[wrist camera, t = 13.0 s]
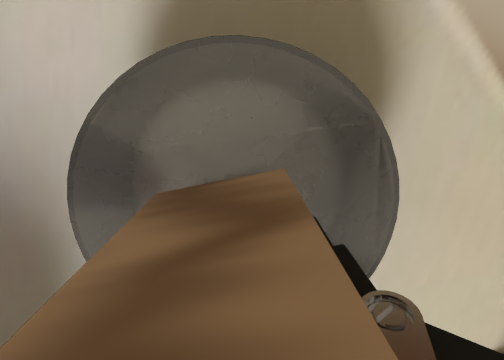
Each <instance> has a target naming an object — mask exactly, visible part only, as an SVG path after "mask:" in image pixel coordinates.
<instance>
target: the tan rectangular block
mask: <svg viewBox="0 0 504 360" xmlns="http://www.w3.org/2000/svg"><path fill="white" fill-rule="evenodd" d="M0 360H398V358H397V357H396V355H395V353H394V352H393V350H392V348H391V347H390V345H389V343H388V342H387V340H386V338H385V337H384V335H383V333H382V332H381V330H380V328H379V327H378V325H377V323H376V322H375V320H374V318H373V317H372V315H371V313H370V311H369V310H368V308H367V306H366V305H365V303H364V301H363V300H362V298H361V296H360V295H359V293H358V291H357V290H356V288H355V286H354V285H353V283H352V281H351V280H350V278H349V276H348V275H347V273H346V271H345V270H344V268H343V266H342V265H341V263H340V261H339V259H338V258H337V256H336V254H335V253H334V251H333V249H332V248H331V246H330V244H329V243H328V241H327V239H326V238H325V236H324V234H323V233H322V231H321V229H320V228H319V226H318V224H317V223H316V221H315V219H314V218H313V216H312V214H311V213H310V211H309V209H308V207H307V206H306V204H305V202H304V201H303V199H302V197H301V196H300V194H299V192H298V191H297V189H296V187H295V186H294V184H293V182H292V181H291V179H290V177H289V176H288V174H287V172H286V171H285V169H284V168H283V169H278V170H273V171H268V172H262V173H257V174H252V175H247V176H242V177H237V178H232V179H227V180H221V181H216V182H211V183H206V184H201V185H196V186H191V187H186V188H180V189H175V190H170V191H165V192H160V193H156V194H155V195H154V196H153V197H152V198H151V199H150V200H149V201H148V202H147V203H146V204H145V205H144V206H143V207H142V208H141V209H140V210H139V211H138V212H137V213H136V214H135V215H134V216H133V217H132V218H131V219H130V220H129V221H128V222H127V223H126V224H125V225H124V226H123V227H122V228H121V229H120V230H119V231H118V232H117V233H116V234H115V235H114V236H113V237H112V238H111V239H110V240H109V241H108V242H107V243H106V244H105V245H104V246H103V247H102V248H101V249H100V250H99V251H98V252H97V253H96V254H95V255H94V256H93V257H92V258H91V259H90V260H89V261H88V262H87V263H86V264H85V265H84V266H83V267H82V268H80V269H79V270H78V271H77V272H76V273H75V274H74V275H73V276H72V277H71V278H70V279H69V280H68V281H67V282H66V283H65V284H64V285H63V286H62V287H61V288H60V289H59V290H58V291H57V292H56V293H55V294H54V295H53V296H52V297H51V298H50V299H49V300H48V301H47V302H46V303H45V304H44V305H43V306H42V307H41V308H40V309H39V310H38V311H37V312H36V313H35V314H34V315H33V316H32V317H31V318H30V319H29V320H28V321H27V322H26V323H25V324H24V325H23V326H22V327H21V328H20V329H19V330H18V331H17V332H16V333H15V334H14V335H13V336H12V337H11V338H10V339H9V340H8V341H7V342H6V343H5V344H4V345H3V346H2V347H1V348H0Z"/></svg>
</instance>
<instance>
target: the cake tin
mask: <svg viewBox="0 0 504 360" xmlns="http://www.w3.org/2000/svg"><path fill="white" fill-rule="evenodd" d="M283 168H284V169H285V171H286V172H287V174H288V176H289V177H290V179H291V181H292V182H293V184H294V186H295V187H296V189H297V191H298V192H299V194H300V196H301V197H302V199H303V201H304V202H305V204H306V206H307V207H308V209H309V211H310V213H311V214H312V216H315V217H316V218H317V220H318V222H319V223H320V225H321V227H322V228H323V230H324V231H325V233H326V235H327V236H328V238H329V240H330V241H331V243H332V245H333V246H334V245H339V244H344V245H345V246H346V247H347V249H348V250H349V252H350V253H351V254H352V256H353V257H354V259H355V260H356V262H357V263H358V264H359V266H360V267H361V269H362V270H363V272H364V273H365V274H366V276H367V277H368V279H369V278H370V277H371V275H372V274H373V273H374V271H375V270H376V268H377V266H378V264H379V263H380V261H381V259H382V258H383V256H384V254H385V251H386V249H387V247H388V244H389V242H390V240H391V237H392V233H393V230H394V226H395V223H396V219H397V211H398V204H399V176H398V169H397V162H396V157H395V154H394V151H393V147H392V144H391V140H390V138H389V136H388V133H387V131H386V129H385V127H384V125H383V123H382V120H381V119H380V117H379V116H378V114H377V112H376V111H375V109H374V108H373V106H372V105H371V103H370V102H369V100H368V99H367V98H366V97H365V96H364V95H363V94H362V92H361V91H360V90H359V89H358V88H357V87H356V86H355V85H354V83H353V82H351V81H350V80H349V79H348V78H347V77H345V76H344V75H343V74H342V73H341V72H339V71H338V70H337V69H336V68H335V67H333V66H331V65H330V64H328V63H326V62H325V61H323V60H321V59H320V58H318V57H317V56H315V55H313V54H311V53H309V52H306V51H304V50H301V49H299V48H297V47H294V46H292V45H290V44H286V43H282V42H278V41H274V40H270V39H266V38H259V37H250V36H241V35H233V36H211V37H206V38H201V39H196V40H190V41H186V42H183V43H180V44H177V45H174V46H171V47H169V48H166V49H163V50H161V51H159V52H157V53H155V54H153V55H151V56H149V57H147V58H146V59H144V60H142V61H140V62H138V63H137V64H136V65H134V66H133V67H132V68H130V69H129V70H128V71H126V72H125V73H124V74H122V75H121V76H120V77H118V78H117V79H116V81H115V82H114V83H113V84H112V85H111V86H110V87H109V88H108V89H107V90H106V91H105V92H104V93H103V94H102V95H101V96H100V98H99V99H98V101H97V102H96V103H95V105H94V106H93V108H92V109H91V110H90V112H89V113H88V115H87V117H86V119H85V121H84V123H83V125H82V127H81V129H80V131H79V133H78V135H77V138H76V141H75V144H74V147H73V150H72V154H71V158H70V164H69V170H68V176H67V200H68V208H69V215H70V220H71V224H72V227H73V231H74V234H75V238H76V240H77V243H78V245H79V247H80V249H81V252H82V254H83V256H84V258H85V260H86V261H87V262H88V261H89V260H90V259H91V258H92V257H93V256H94V255H95V254H96V253H97V252H98V251H99V250H100V249H101V248H102V247H103V246H104V245H105V244H106V243H107V242H108V241H109V240H110V239H111V238H112V237H113V236H114V235H115V234H116V233H117V232H118V231H119V230H120V229H121V228H122V227H123V226H124V225H125V224H126V223H127V222H128V221H129V220H130V219H131V218H132V217H133V216H134V215H135V214H136V213H137V212H138V211H139V210H140V209H141V208H142V207H143V206H144V205H145V204H146V203H147V202H148V201H149V200H150V199H151V198H152V197H153V196H154V195H155V194H156V193H160V192H165V191H170V190H175V189H180V188H186V187H191V186H196V185H201V184H206V183H211V182H216V181H221V180H227V179H232V178H237V177H242V176H247V175H252V174H257V173H262V172H268V171H273V170H278V169H283Z"/></svg>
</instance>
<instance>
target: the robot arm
mask: <svg viewBox="0 0 504 360" xmlns="http://www.w3.org/2000/svg"><path fill="white" fill-rule="evenodd" d="M313 218H314V219H315V221H316V223H317V224H318V226H319V228H320V229H321V231H322V233H323V234H324V236H325V238H326V239H327V241H328V243H329V244H330V246H331V248H332V249H333V251H334V253H335V254H336V256H337V258H338V259H339V261H340V263H341V265H342V266H343V268H344V270H345V271H346V273H347V275H348V276H349V278H350V280H351V281H352V283H353V285H354V286H355V288H356V290H357V291H358V293H359V295H360V296H361V298H362V300H363V301H364V303H365V305H366V306H367V308H368V310H369V311H370V313H371V315H372V317H373V318H374V320H375V322H376V323H377V325H378V327H379V328H380V330H381V332H382V333H383V335H384V337H385V338H386V340H387V342H388V343H389V345H390V347H391V348H392V350H393V352H394V353H395V355H396V357H397V358H398V360H504V355H503V354H501V353H498V352H496V351H494V350H491V349H489V348H486V347H484V346H481V345H479V344H476V343H474V342H471V341H469V340H466V339H464V338H461V337H459V336H457V335H454V334H452V333H449V332H447V331H444V330H442V329H439V328H437V327H434V326H432V325H429V324H427V323H424V320H423V317H422V315H421V313H420V311H419V309H418V308H417V306H416V305H415V304H414V303H413V302H412V301H410V300H409V299H407V298H406V297H404V296H402V295H400V294H397V293H395V292H390V291H377V290H376V289H375V287H374V286H373V284H372V283H371V282H370V280H369V279H368V277H367V276H366V274H365V273H364V272H363V270H362V269H361V267H360V266H359V264H358V263H357V262H356V260H355V259H354V257H353V256H352V254H351V253H350V252H349V250H348V249H347V247H346V246H345V245H344V244H339V245H334V246H333V245H332V243H331V241H330V240H329V238H328V236H327V235H326V233H325V231H324V230H323V228H322V227H321V225H320V223H319V222H318V220H317V218H316V217H315V216H313Z"/></svg>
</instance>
